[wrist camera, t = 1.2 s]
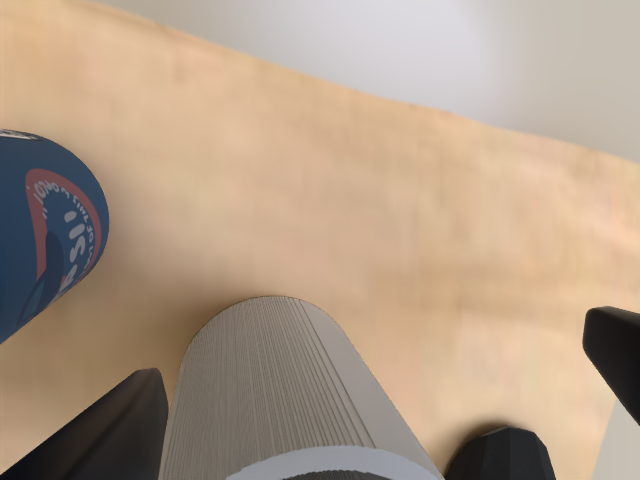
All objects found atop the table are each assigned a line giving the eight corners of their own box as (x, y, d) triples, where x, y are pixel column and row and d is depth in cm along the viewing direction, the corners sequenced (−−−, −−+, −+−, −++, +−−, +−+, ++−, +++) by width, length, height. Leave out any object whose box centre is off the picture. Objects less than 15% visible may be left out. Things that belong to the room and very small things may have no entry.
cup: (382, 332, 24) (531, 497, 12) (310, 478, 24) (387, 768, 13) (223, 268, 21) (219, 397, 10) (149, 432, 22) (61, 736, 10)
